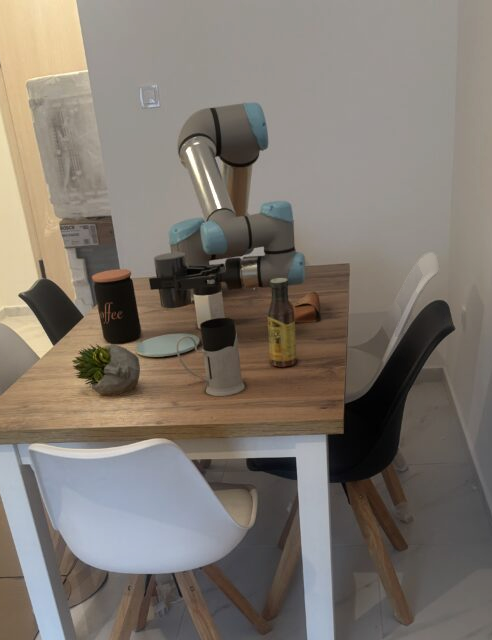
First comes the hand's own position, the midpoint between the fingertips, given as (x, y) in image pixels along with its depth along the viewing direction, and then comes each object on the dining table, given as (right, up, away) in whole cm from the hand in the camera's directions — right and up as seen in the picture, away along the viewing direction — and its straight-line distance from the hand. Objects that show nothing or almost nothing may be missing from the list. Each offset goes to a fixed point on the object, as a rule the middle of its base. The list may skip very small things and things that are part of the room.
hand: (154, 279), depth 195 cm
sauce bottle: (+32, -24, -13) cm, 42 cm away
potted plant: (-9, -31, -16) cm, 36 cm away
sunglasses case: (+41, -3, +22) cm, 47 cm away
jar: (+14, -6, +23) cm, 28 cm away
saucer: (+3, -16, +9) cm, 18 cm away
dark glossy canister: (+5, -6, +2) cm, 8 cm away
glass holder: (+15, -32, -23) cm, 43 cm away
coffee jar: (-11, -10, +21) cm, 26 cm away
